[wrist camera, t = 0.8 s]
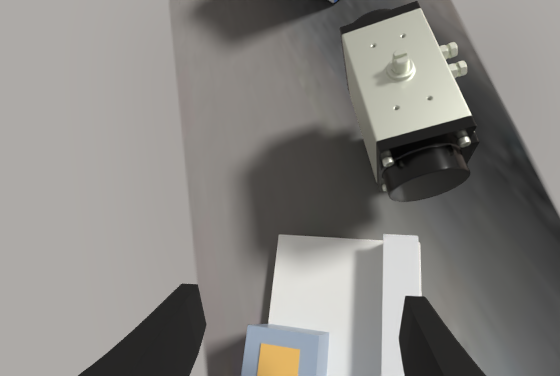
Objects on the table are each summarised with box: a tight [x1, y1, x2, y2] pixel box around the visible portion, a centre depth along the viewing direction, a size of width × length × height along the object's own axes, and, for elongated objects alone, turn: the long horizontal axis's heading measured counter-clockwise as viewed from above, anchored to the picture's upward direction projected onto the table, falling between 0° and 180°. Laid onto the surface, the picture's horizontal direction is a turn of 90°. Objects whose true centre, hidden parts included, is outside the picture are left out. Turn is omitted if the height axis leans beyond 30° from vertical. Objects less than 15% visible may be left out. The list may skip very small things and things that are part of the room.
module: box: [241, 324, 329, 376], centre depth 21 cm, size 5×4×5 cm
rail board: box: [268, 234, 421, 376], centre depth 23 cm, size 12×11×3 cm
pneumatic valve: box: [340, 1, 479, 202], centre depth 22 cm, size 6×12×12 cm, turn 9°
